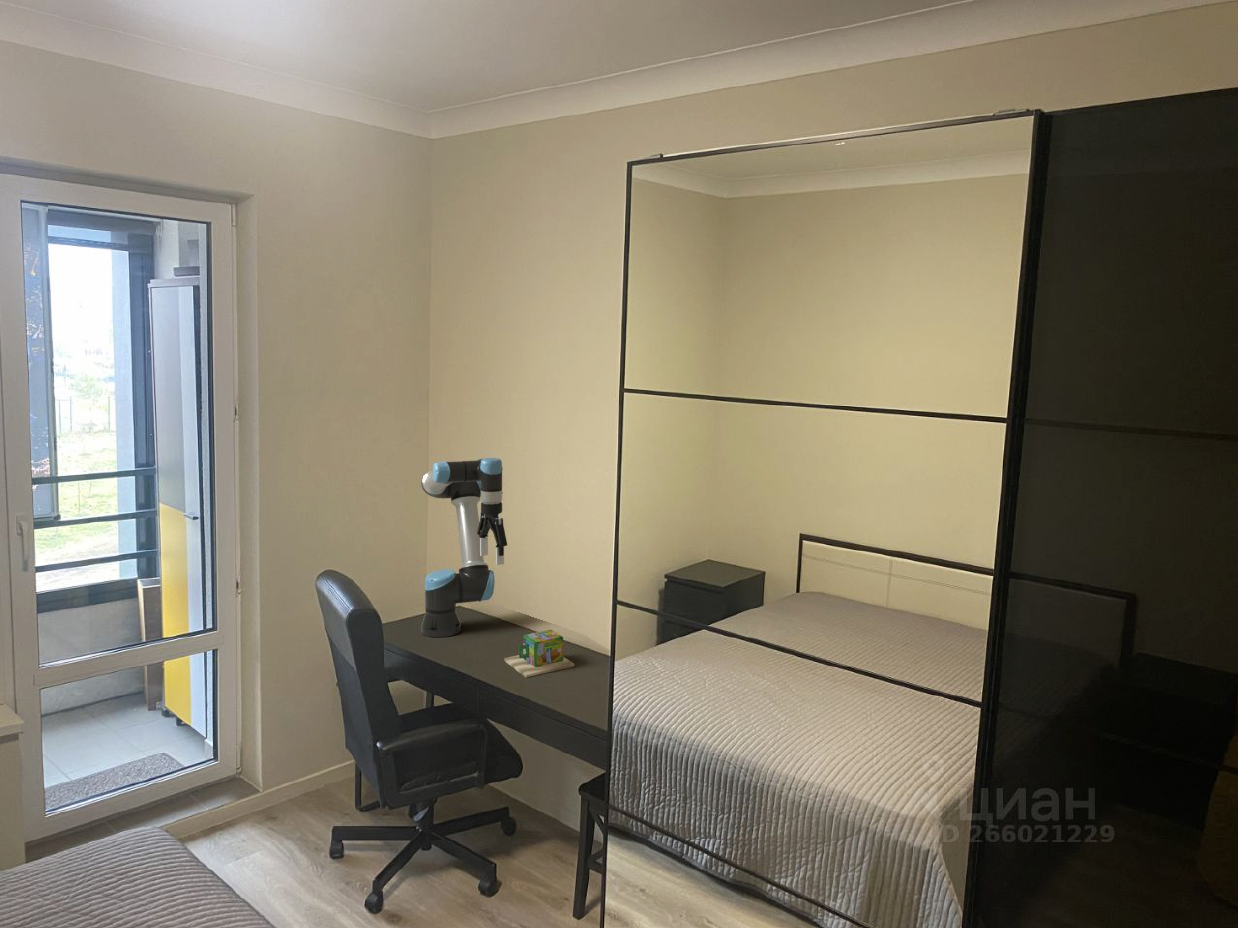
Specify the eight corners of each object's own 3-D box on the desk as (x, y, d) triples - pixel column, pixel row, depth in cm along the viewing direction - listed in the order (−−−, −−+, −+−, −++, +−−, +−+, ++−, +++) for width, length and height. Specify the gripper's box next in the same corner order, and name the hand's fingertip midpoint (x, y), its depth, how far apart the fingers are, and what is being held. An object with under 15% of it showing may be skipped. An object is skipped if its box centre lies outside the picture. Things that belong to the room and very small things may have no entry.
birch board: (504, 660, 312) (504, 658, 312) (551, 650, 323) (551, 648, 322) (525, 677, 298) (525, 674, 298) (574, 666, 309) (574, 663, 308)
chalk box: (563, 660, 311) (526, 670, 303) (551, 652, 318) (514, 661, 310) (563, 635, 309) (526, 644, 301) (550, 628, 317) (514, 636, 309)
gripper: (516, 507, 303) (516, 566, 307) (486, 494, 324) (487, 550, 327) (496, 509, 299) (497, 569, 303) (467, 496, 320) (468, 553, 323)
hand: (491, 559), depth 315 cm, fingers open, 13 cm apart
